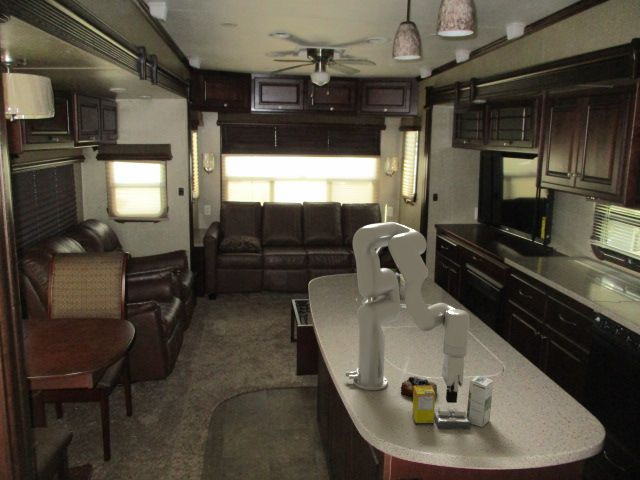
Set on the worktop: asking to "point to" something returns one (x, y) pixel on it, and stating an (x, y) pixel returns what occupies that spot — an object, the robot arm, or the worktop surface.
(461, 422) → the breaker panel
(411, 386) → the pastry
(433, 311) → the robot arm
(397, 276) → the chalk box
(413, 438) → the worktop surface
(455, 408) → the breaker paddles
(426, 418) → the supplement box
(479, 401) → the syrup box
